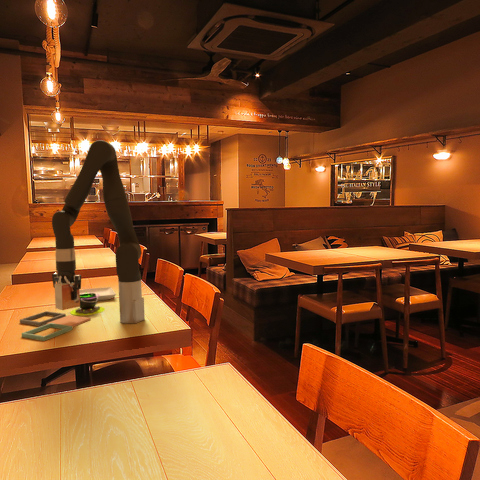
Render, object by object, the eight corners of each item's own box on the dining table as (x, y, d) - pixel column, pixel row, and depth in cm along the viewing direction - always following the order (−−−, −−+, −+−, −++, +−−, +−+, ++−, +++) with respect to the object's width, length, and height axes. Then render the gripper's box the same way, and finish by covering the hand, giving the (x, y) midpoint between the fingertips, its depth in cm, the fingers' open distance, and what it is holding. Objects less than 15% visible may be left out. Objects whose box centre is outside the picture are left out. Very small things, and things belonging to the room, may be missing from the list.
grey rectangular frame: (65, 317, 176) (65, 313, 175) (39, 326, 163) (39, 322, 163) (46, 314, 180) (46, 311, 180) (19, 323, 168) (19, 319, 168)
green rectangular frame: (72, 329, 158) (72, 326, 158) (44, 340, 146) (43, 336, 146) (51, 326, 163) (50, 322, 163) (21, 337, 151) (21, 333, 150)
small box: (62, 310, 163) (61, 285, 161) (55, 308, 166) (53, 283, 165) (80, 306, 169) (79, 282, 168) (73, 304, 172) (72, 280, 171)
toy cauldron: (93, 316, 176) (91, 292, 175) (63, 315, 179) (61, 290, 178) (111, 307, 191) (110, 284, 190) (82, 306, 194) (81, 283, 193)
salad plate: (70, 296, 215) (69, 290, 214) (111, 292, 224) (111, 286, 223) (71, 305, 196) (71, 299, 195) (117, 300, 205) (116, 294, 204)
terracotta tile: (90, 319, 171) (90, 318, 171) (68, 328, 160) (68, 326, 160) (69, 316, 176) (69, 315, 176) (46, 324, 165) (46, 323, 165)
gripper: (85, 258, 166) (87, 298, 168) (59, 257, 172) (61, 295, 173) (71, 261, 159) (73, 302, 161) (45, 259, 165) (47, 299, 166)
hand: (67, 298), depth 167 cm, fingers closed on small box, 6 cm apart
